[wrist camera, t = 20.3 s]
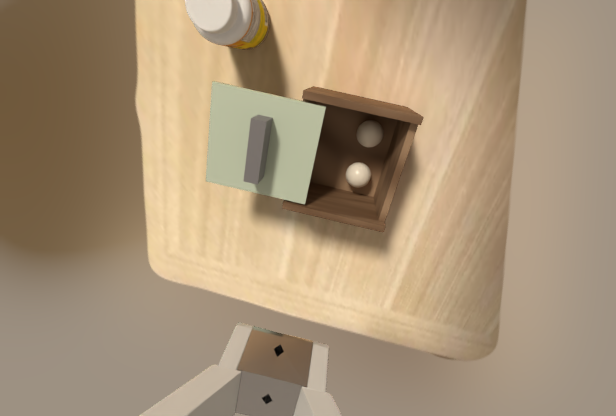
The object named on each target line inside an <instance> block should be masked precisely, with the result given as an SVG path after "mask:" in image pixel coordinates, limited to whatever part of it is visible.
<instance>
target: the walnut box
mask: <svg viewBox="0 0 616 416" xmlns="http://www.w3.org/2000/svg"><path fill="white" fill-rule="evenodd" d="M302 98H303V101H304V102H309V103H313V104H318V105H322V106H326V110H325V115H324V119H323V124H322V128H321V133H320V138H319V142H318V147H317V152H316V156H315V161H314V166H313V170H312V175H311V179H310V184H309V189H308V193H307V198H306V203H305V204H301V203H296V202H292V201H288V200H284V202H283V206H282V208H283V209H287V210H291V211H295V212H300V213H304V214H308V215H312V216H317V217H321V218H325V219H329V220H334V221H338V222H342V223H346V224H350V225H355V226H359V227H363V228H367V229H372V230H376V231H380V232H384V230H385V227H386V226H385V220H386V217H387V214H388V211H389V208H390V205H391V202H392V199H393V196H394V193H395V190H396V188H397V185H398V182H399V179H400V176H401V173H402V170H403V167H404V164H405V161H406V159H407V156H408V153H409V150H410V147H411V144H412V141H413V138H414V135H415V132H416V129H417V127H418V125H421V123H422V120H423V117H422V116H421V115H419V114H418V113H416V112H414V111H413V110H411V109H409V108H408V107H404V106H400V105H395V104H391V103H386V102H382V101H377V100H373V99H368V98H364V97H359V96H355V95H350V94H346V93H342V92H337V91H333V90H328V89H324V88H319V87H315V86H313V87H311V88H308V89H306V90H304V91H303V96H302ZM368 120H373V121H376V122H378V123H379V124H380V125H381V126H382V128H383V138H382V140H381V142H380V143H379V144H378V145H376V146H374V147H365V146H363V145H361V144H360V143H359V142H358V140H357V135H356V134H357V129H358V127H359V126H360V125H361V124H362V123H363V122H365V121H368ZM358 162H359V163H363V164H365V165H367V166H368V167H369V169H370V172H371V178H370V181H369V182H368V184H366V185H365V186H363V187H360V188H356V187H353V186H351V185H350V184H349V183H348V182H347V180H346V171H347V169H348V167H349V166H350V165H352V164H353V163H358Z"/></svg>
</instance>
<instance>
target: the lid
mask: <svg viewBox="0 0 616 416" xmlns="http://www.w3.org/2000/svg"><path fill="white" fill-rule="evenodd" d="M325 110H326V106H322V105H318V104H313V103H309V102H304V101H300V100H296V99H291V98H287V97H282V96H278V95H273V94H269V93H264V92H260V91H256V90H251V89H247V88H242V87H238V86H233V85H229V84H224V83H220V82H216V81H212V92H211V108H210V123H209V139H208V155H207V170H206V181H207V182H211V183H216V184H220V185H224V186H228V187H233V188H237V189H241V190H245V191H250V192H254V193H258V194H262V195H267V196H271V197H275V198H279V199H284V200H288V201H292V202H296V203H301V204H305V203H306V198H307V193H308V189H309V184H310V179H311V175H312V170H313V166H314V161H315V156H316V152H317V147H318V142H319V138H320V133H321V128H322V124H323V119H324V115H325Z"/></svg>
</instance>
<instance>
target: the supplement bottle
mask: <svg viewBox="0 0 616 416" xmlns="http://www.w3.org/2000/svg"><path fill="white" fill-rule="evenodd" d="M185 6H186V10H187V13H188V15H189V17H190V19H191V20H192V22H193V24H194V26H195V27H196V29H197V30H198V32H199V33H200V34H201V35H202V36H203V37H204V38H205V39H207V40H208V41H210V42H212V43H215V44H218V45H223V46H228V47H233V48H239V49H253V48H255V47H257V46H259V45H260V44H261V43H262V42H263V41H264V39H265V38H266V36H267V34H268V30H269V23H270V22H269V14H268V10H267V8H266V6H265V4H264V2H263V1H262V0H185Z"/></svg>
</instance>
